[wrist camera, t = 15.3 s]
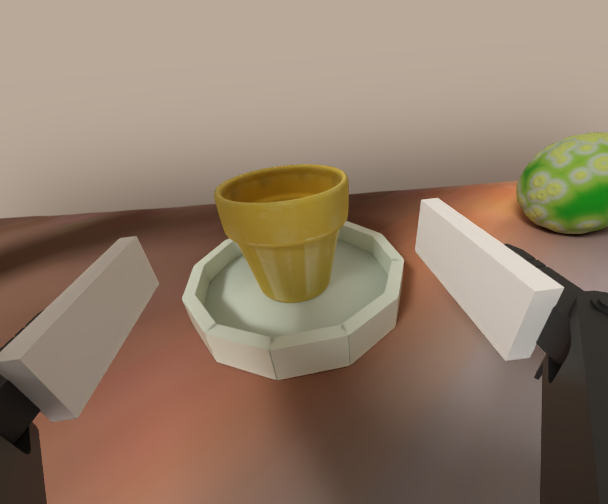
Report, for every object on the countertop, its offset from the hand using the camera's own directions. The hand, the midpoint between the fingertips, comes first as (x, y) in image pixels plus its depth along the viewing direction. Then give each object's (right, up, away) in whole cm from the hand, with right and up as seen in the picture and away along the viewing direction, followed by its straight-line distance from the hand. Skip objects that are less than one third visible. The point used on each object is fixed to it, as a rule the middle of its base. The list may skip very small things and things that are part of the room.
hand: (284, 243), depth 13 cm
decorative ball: (+30, +2, +18) cm, 35 cm away
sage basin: (0, -4, +14) cm, 14 cm away
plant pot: (0, -3, +13) cm, 14 cm away
